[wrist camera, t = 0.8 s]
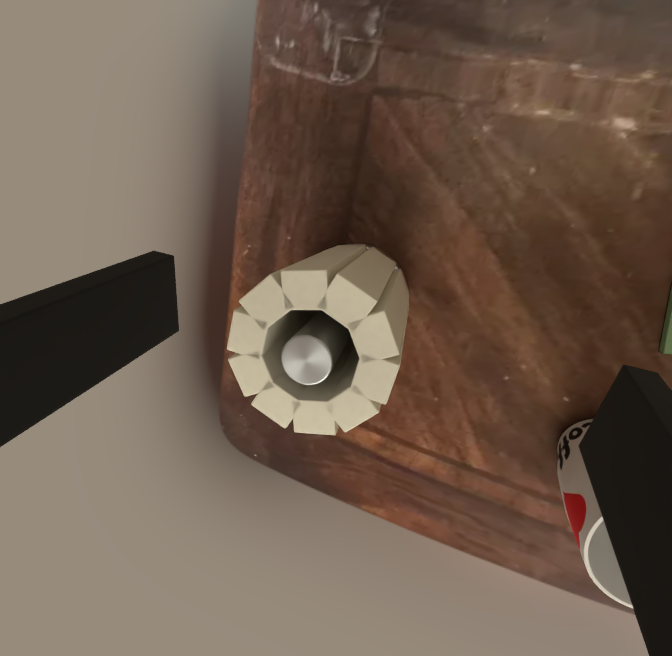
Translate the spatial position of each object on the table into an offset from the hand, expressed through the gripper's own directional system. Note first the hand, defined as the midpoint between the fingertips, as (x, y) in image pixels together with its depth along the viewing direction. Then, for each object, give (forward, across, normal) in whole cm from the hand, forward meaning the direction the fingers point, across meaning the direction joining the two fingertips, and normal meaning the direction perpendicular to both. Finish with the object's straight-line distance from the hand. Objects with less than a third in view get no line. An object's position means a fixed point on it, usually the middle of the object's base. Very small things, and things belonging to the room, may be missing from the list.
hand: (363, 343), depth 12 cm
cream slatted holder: (+16, -4, -6) cm, 18 cm away
